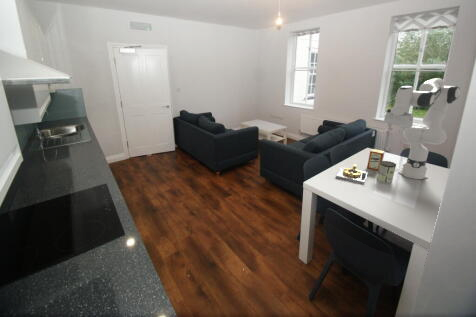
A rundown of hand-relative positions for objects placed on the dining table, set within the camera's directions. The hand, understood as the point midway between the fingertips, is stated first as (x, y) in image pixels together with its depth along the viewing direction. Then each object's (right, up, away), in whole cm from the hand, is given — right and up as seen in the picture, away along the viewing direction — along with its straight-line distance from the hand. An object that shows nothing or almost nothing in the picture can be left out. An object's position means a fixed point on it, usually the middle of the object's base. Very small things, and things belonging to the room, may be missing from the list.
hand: (395, 131), depth 159 cm
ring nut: (-16, -30, +27) cm, 43 cm away
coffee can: (+4, -35, +18) cm, 40 cm away
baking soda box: (+8, -27, +39) cm, 49 cm away
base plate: (-17, -33, +26) cm, 45 cm away
